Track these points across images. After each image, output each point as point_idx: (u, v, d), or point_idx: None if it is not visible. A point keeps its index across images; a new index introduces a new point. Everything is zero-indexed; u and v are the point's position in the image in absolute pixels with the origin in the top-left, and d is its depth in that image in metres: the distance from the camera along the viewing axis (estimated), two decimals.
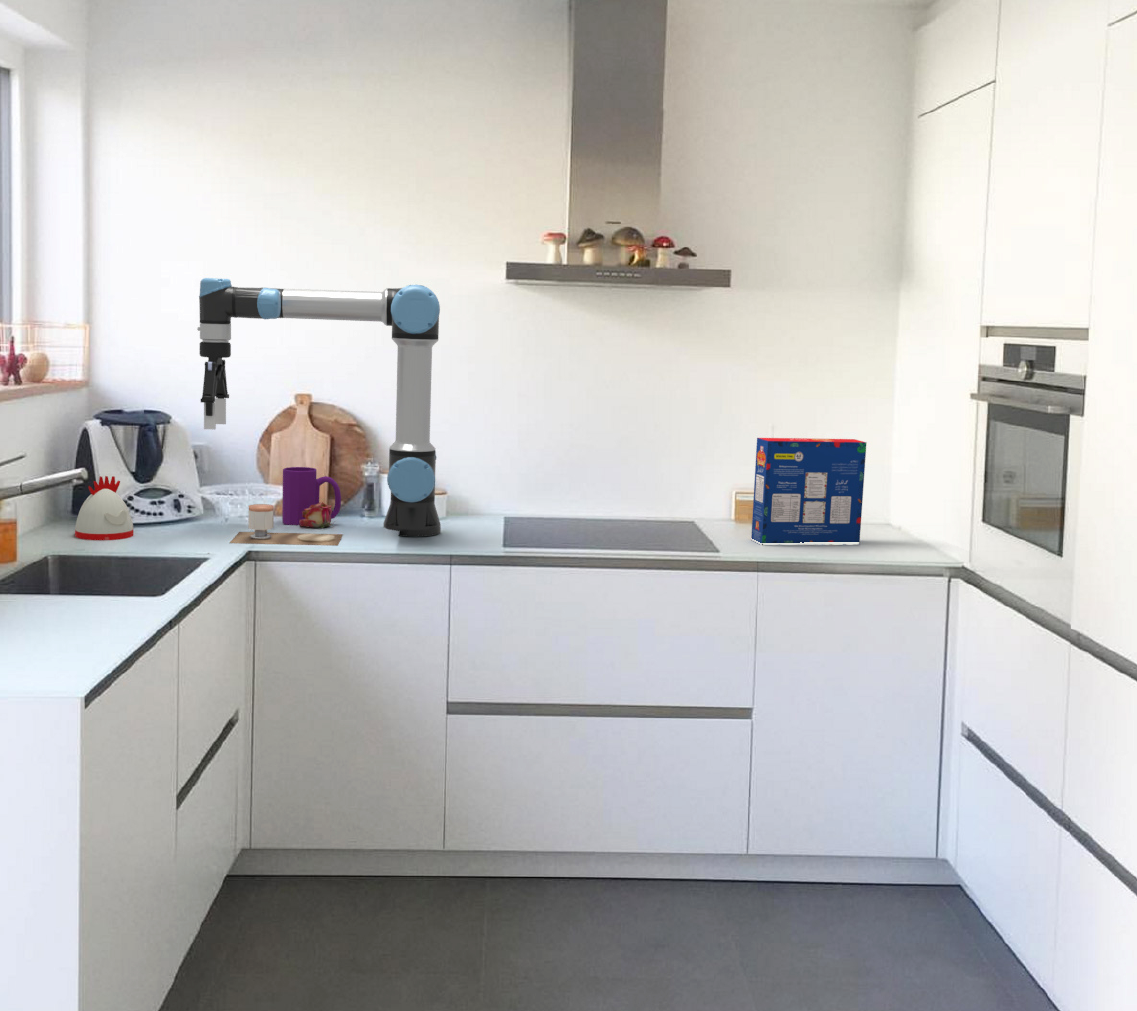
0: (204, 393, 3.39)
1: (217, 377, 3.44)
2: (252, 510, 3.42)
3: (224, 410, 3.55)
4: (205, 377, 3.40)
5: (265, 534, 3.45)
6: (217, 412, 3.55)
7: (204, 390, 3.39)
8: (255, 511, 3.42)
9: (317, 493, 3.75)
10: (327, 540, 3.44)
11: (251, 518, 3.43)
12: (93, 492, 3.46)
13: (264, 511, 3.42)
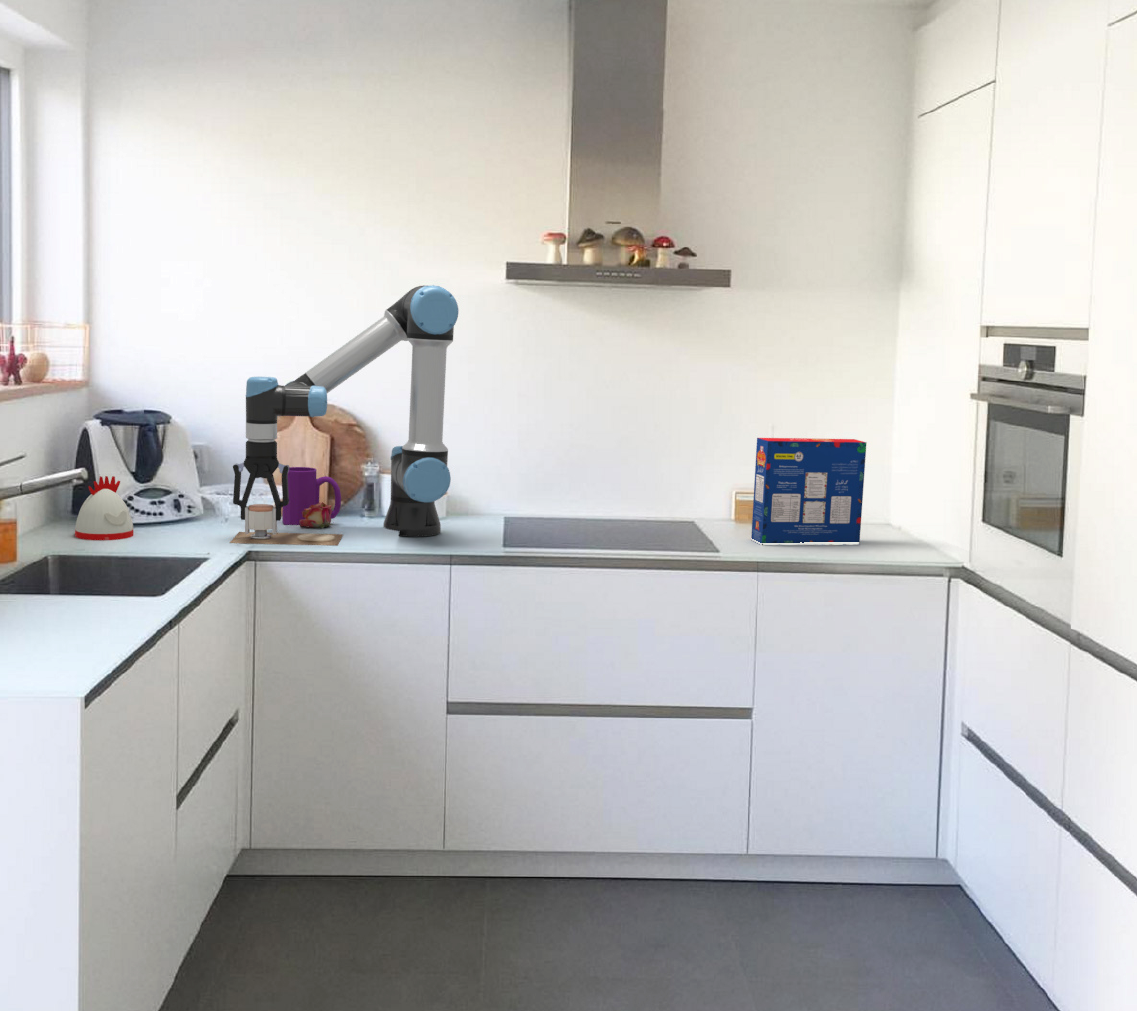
0: None
1: (248, 479, 3.42)
2: (252, 510, 3.42)
3: None
4: None
5: (265, 534, 3.45)
6: None
7: None
8: (255, 511, 3.42)
9: (317, 493, 3.75)
10: (327, 540, 3.44)
11: (251, 518, 3.43)
12: (93, 492, 3.46)
13: (264, 511, 3.42)
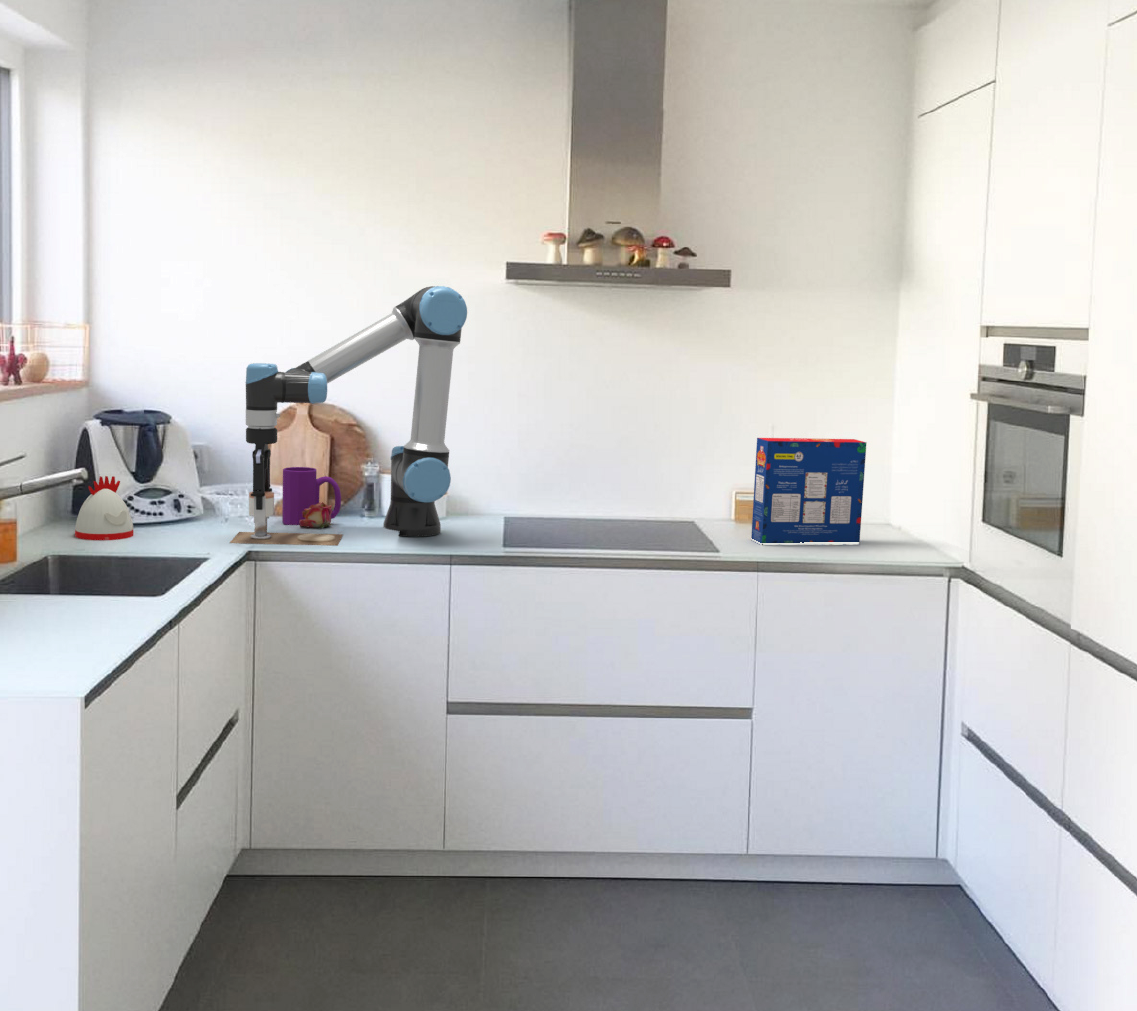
0: None
1: None
2: None
3: None
4: None
5: (265, 534, 3.45)
6: None
7: None
8: None
9: (317, 493, 3.75)
10: (327, 540, 3.44)
11: None
12: (93, 492, 3.46)
13: (249, 497, 3.43)
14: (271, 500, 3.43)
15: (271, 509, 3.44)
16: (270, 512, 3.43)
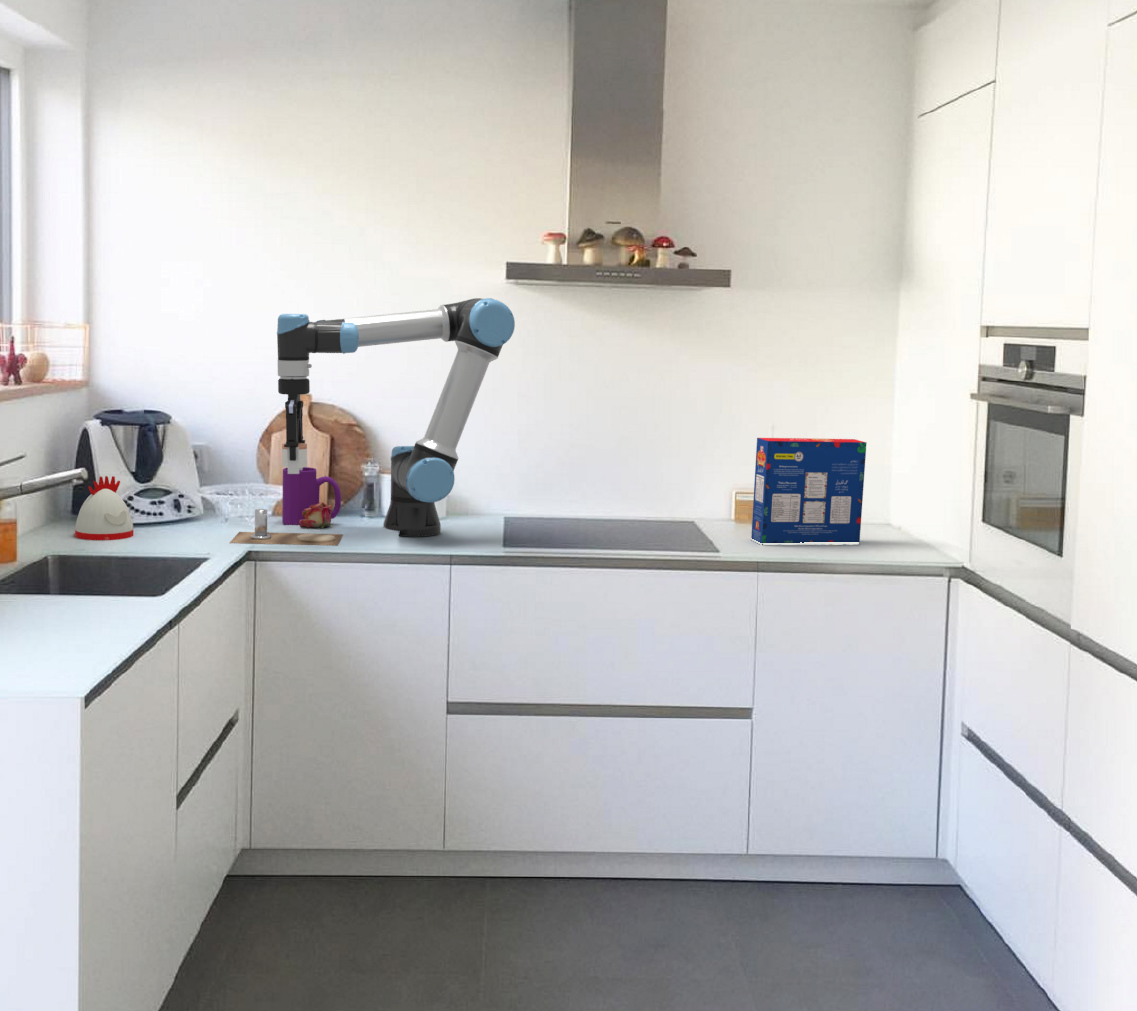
0: None
1: None
2: None
3: None
4: None
5: (265, 534, 3.45)
6: None
7: None
8: None
9: (317, 493, 3.75)
10: (327, 540, 3.44)
11: None
12: (93, 492, 3.46)
13: (282, 448, 3.42)
14: (304, 451, 3.42)
15: (304, 460, 3.43)
16: (303, 463, 3.42)
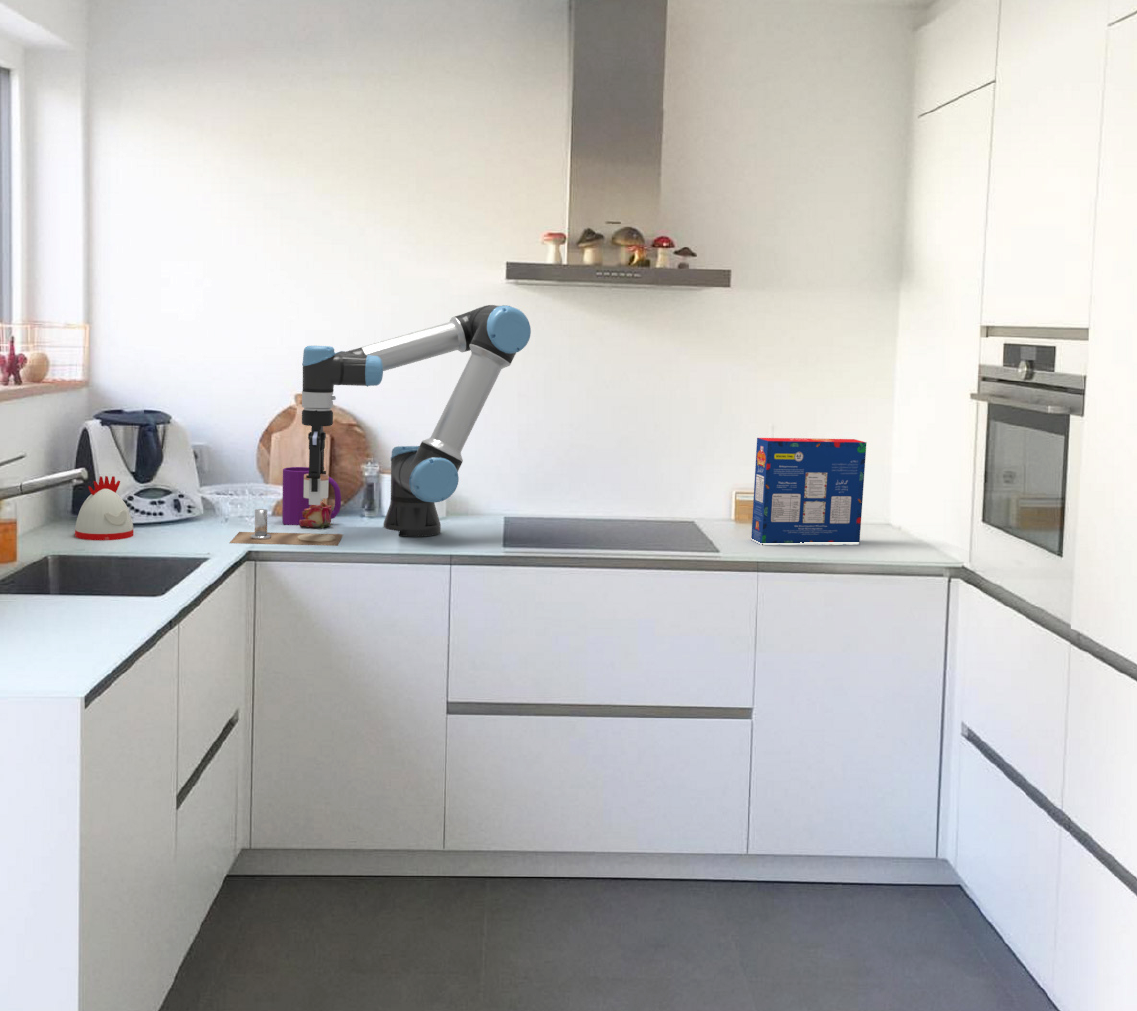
0: None
1: None
2: None
3: None
4: None
5: (265, 534, 3.45)
6: None
7: None
8: None
9: None
10: (327, 540, 3.44)
11: None
12: (93, 492, 3.46)
13: (304, 479, 3.43)
14: (326, 482, 3.44)
15: (326, 491, 3.44)
16: (325, 494, 3.44)
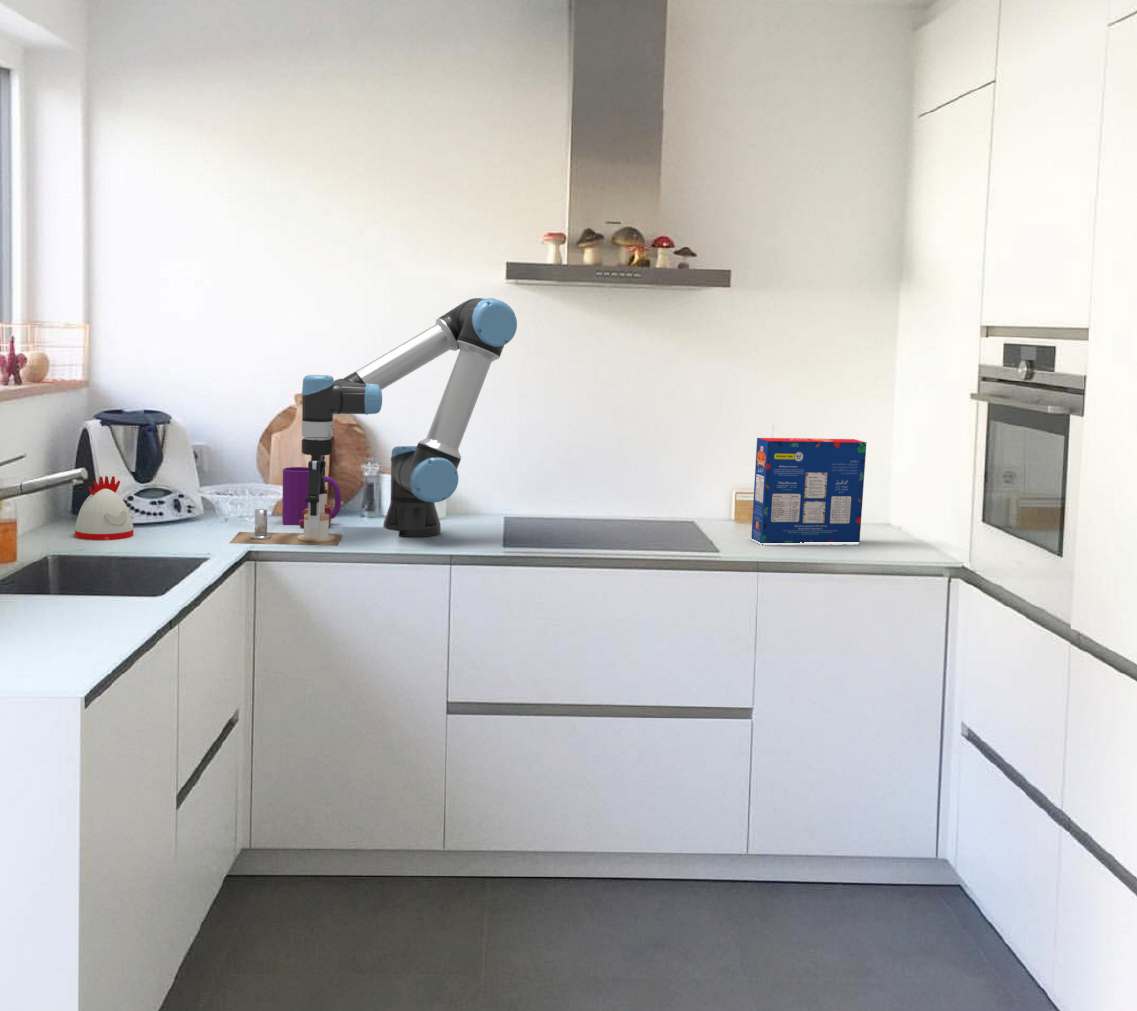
0: None
1: None
2: None
3: None
4: None
5: (265, 534, 3.45)
6: None
7: None
8: None
9: None
10: (327, 540, 3.44)
11: None
12: (93, 492, 3.46)
13: (304, 519, 3.45)
14: (326, 522, 3.45)
15: (326, 531, 3.45)
16: (325, 534, 3.45)
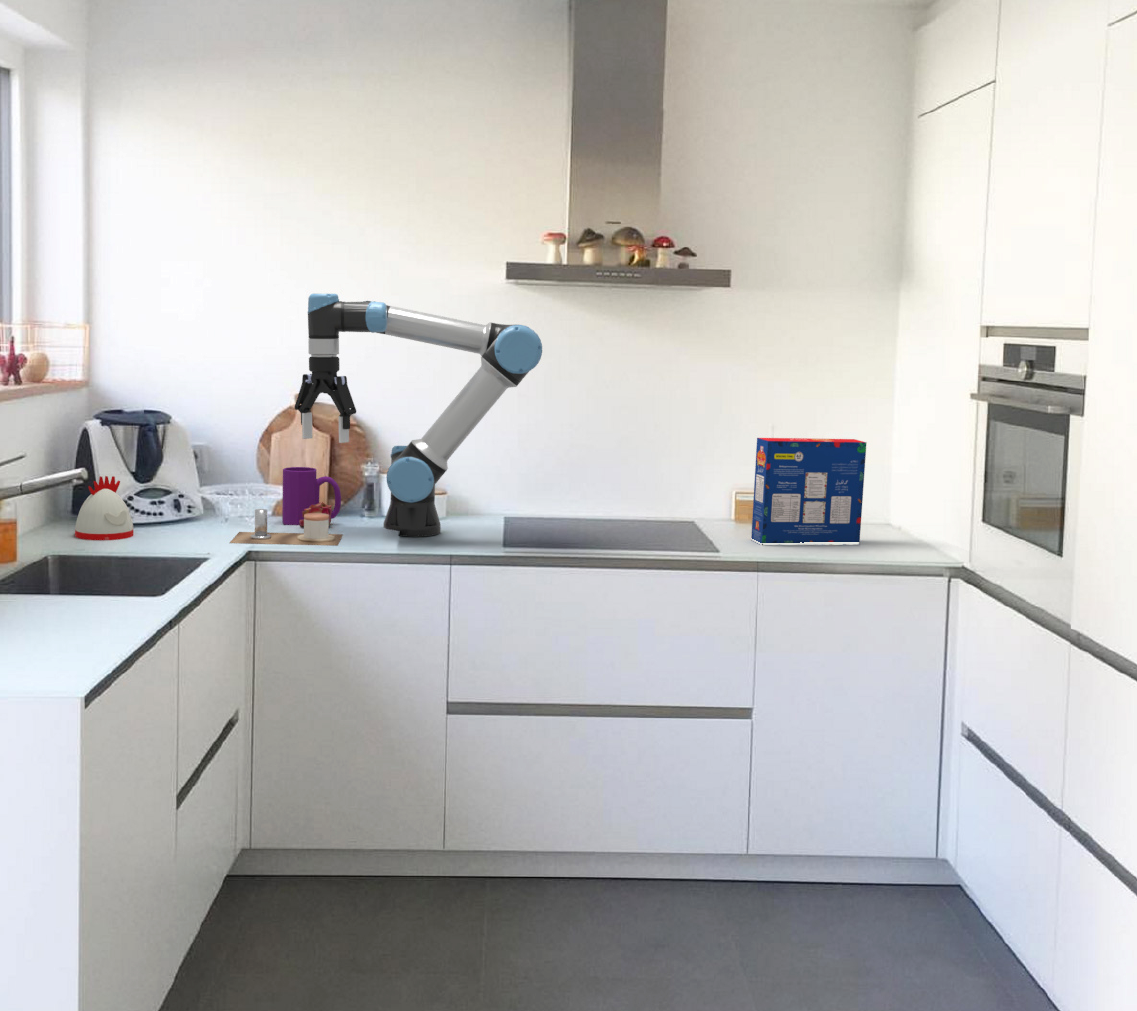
0: None
1: None
2: None
3: None
4: None
5: (265, 534, 3.45)
6: None
7: None
8: None
9: (317, 493, 3.75)
10: (327, 540, 3.44)
11: None
12: (93, 492, 3.46)
13: (304, 519, 3.45)
14: (326, 522, 3.45)
15: (326, 531, 3.45)
16: (325, 534, 3.45)
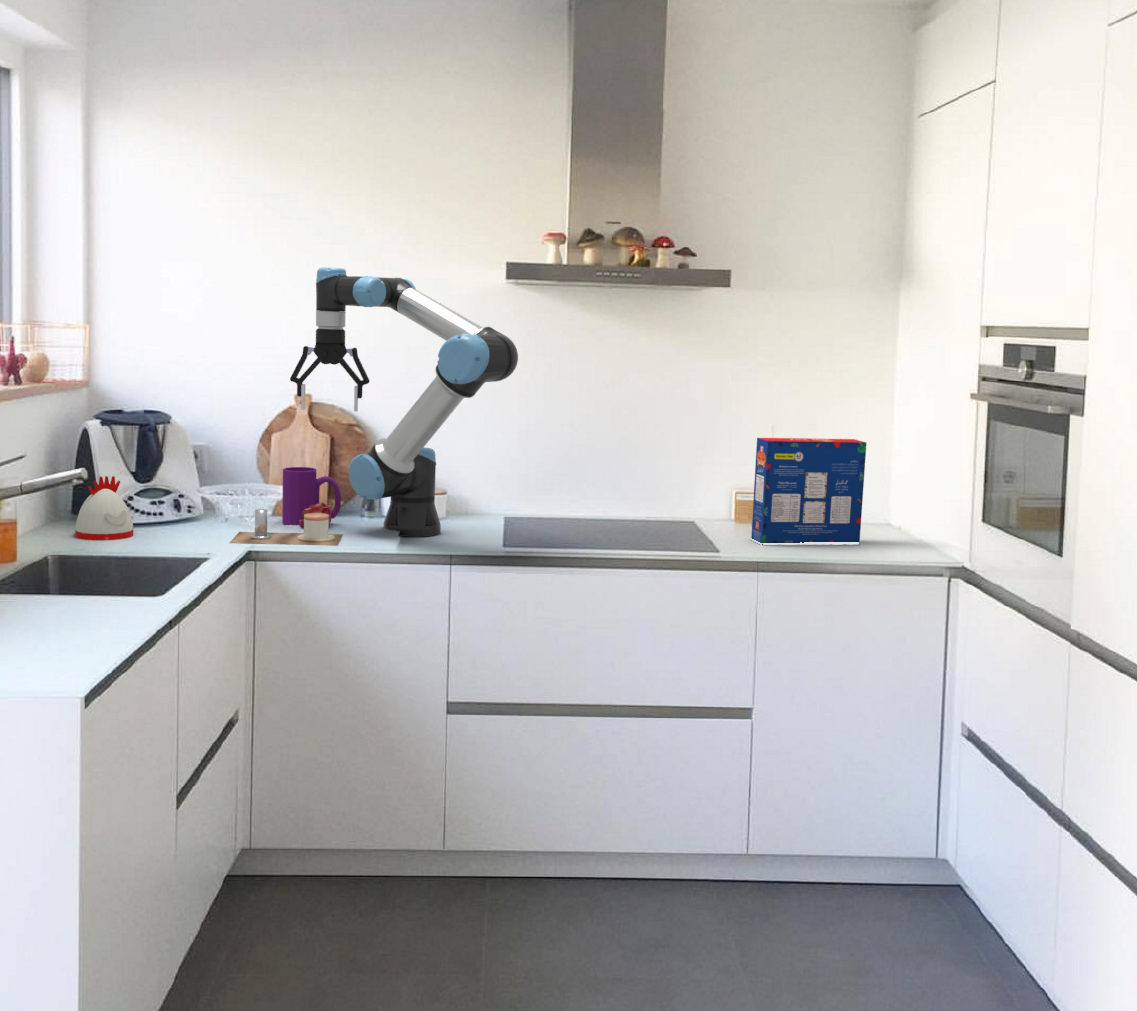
0: None
1: (314, 361, 3.61)
2: None
3: None
4: None
5: (265, 534, 3.45)
6: None
7: None
8: None
9: (317, 493, 3.75)
10: (327, 540, 3.44)
11: None
12: (93, 492, 3.46)
13: (304, 519, 3.45)
14: (326, 522, 3.45)
15: (326, 531, 3.45)
16: (325, 534, 3.45)
